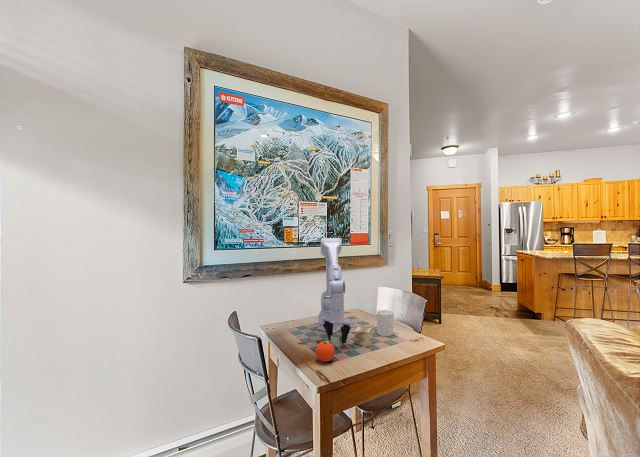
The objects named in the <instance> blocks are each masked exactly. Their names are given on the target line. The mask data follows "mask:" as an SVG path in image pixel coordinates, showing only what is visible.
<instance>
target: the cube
mask: <svg viewBox="0 0 640 457" xmlns="http://www.w3.org/2000/svg"><path fill="white" fill-rule="evenodd" d="M330 341H331V342H332V343H331V342H330V343H331V344H332V345H333V347H334V348H335V347H336V348H340V347H342V346H344V344H342V333H336V332H335V333H333V335H331V340H330Z"/></svg>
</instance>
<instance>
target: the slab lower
mask: <svg viewBox="0 0 640 457" xmlns="http://www.w3.org/2000/svg"><path fill="white" fill-rule="evenodd" d="M373 342H374V336H373V335H372V336H371V337H370V339H369V340H366V339H358V338H355V336H354V337H353V344H354V345H358V346H363V347H369V346H370V345H371V344H372V343H373Z"/></svg>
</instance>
